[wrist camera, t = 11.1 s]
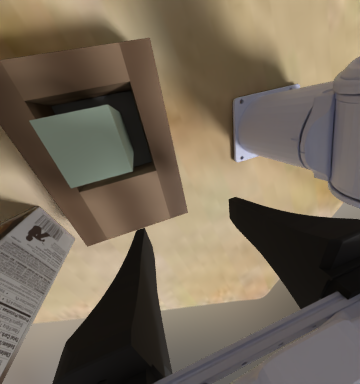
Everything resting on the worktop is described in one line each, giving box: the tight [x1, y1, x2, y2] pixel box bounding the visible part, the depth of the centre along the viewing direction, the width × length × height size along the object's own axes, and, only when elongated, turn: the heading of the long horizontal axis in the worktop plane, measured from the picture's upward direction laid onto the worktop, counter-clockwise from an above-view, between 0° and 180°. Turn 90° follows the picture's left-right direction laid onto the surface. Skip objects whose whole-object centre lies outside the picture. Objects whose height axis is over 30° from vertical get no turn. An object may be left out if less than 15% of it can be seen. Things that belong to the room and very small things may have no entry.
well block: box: [0, 38, 188, 247], centre depth 15 cm, size 12×16×4 cm
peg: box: [29, 105, 134, 188], centre depth 12 cm, size 4×4×8 cm
